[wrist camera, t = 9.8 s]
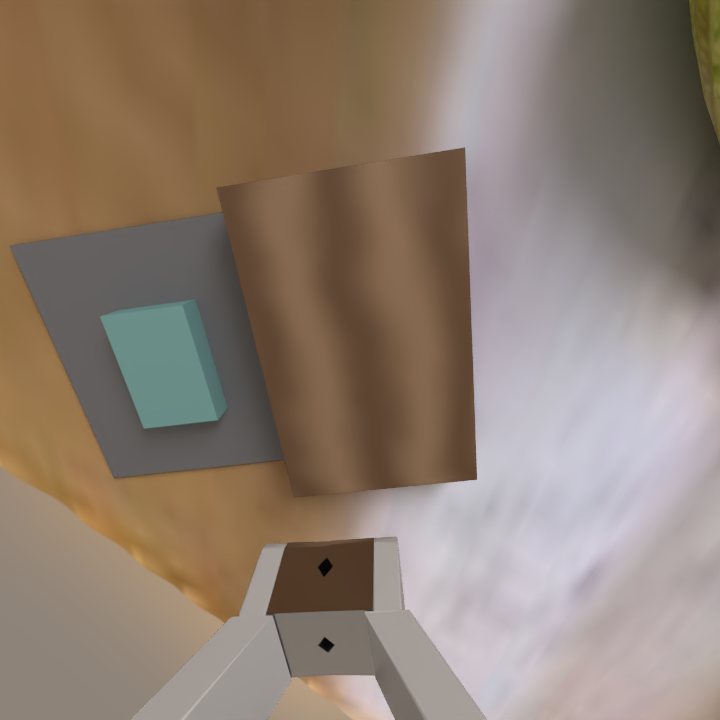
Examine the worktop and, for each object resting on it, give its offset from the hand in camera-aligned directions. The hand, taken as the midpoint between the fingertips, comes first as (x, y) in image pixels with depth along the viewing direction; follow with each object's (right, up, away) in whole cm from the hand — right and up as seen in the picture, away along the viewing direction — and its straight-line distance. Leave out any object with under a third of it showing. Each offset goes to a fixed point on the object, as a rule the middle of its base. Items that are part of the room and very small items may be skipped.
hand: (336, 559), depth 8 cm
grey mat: (-15, +4, +20) cm, 26 cm away
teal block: (-14, +4, +18) cm, 23 cm away
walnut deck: (+1, +6, +19) cm, 20 cm away
